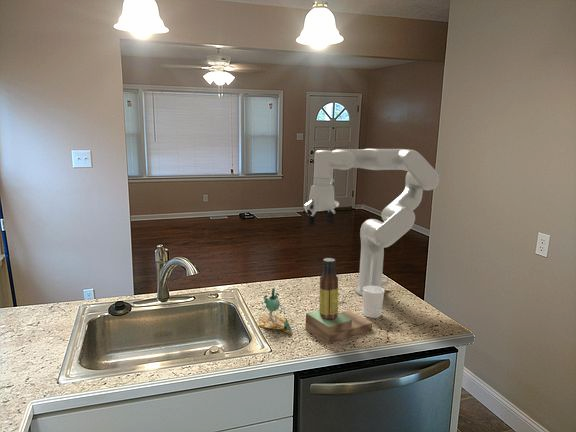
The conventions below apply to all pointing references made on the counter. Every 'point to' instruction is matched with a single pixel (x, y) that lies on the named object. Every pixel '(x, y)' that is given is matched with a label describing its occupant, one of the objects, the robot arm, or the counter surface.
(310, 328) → the stand
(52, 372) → the counter surface
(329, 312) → the sauce bottle
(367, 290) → the white cup
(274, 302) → the teal toy figure
